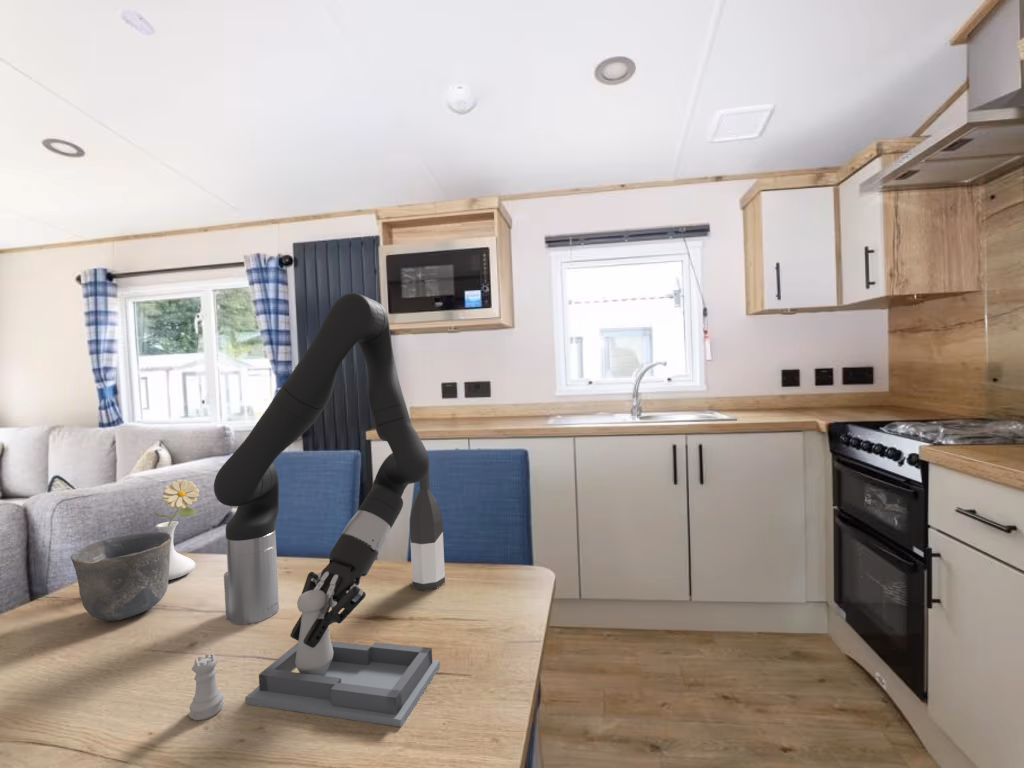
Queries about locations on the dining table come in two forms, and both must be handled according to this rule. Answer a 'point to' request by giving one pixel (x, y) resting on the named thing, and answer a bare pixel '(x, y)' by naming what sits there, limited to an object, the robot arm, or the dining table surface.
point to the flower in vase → (178, 497)
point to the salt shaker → (306, 656)
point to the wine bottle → (426, 540)
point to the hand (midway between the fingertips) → (302, 641)
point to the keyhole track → (351, 683)
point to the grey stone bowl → (123, 574)
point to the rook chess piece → (205, 689)
